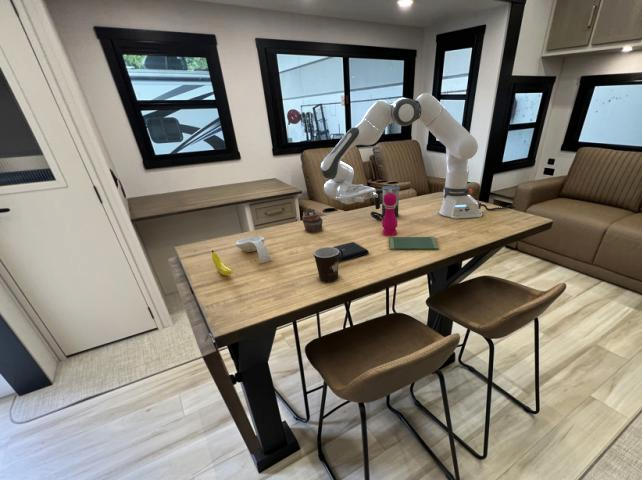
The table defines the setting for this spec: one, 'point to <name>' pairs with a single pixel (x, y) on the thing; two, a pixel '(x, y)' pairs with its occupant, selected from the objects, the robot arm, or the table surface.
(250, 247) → the spoon rest
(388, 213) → the pepper mill
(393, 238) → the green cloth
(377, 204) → the milk frother
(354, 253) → the laptop
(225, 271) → the banana
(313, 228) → the cupcake
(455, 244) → the table surface
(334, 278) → the coffee mug
